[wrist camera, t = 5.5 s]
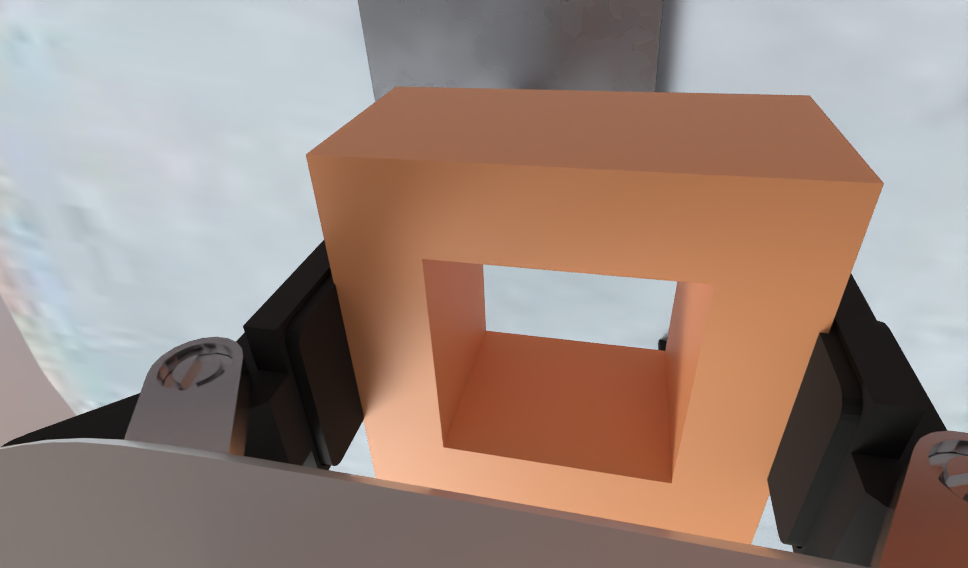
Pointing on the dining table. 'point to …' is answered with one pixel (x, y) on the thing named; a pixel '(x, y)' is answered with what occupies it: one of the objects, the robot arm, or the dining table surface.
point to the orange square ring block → (594, 250)
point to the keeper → (512, 44)
